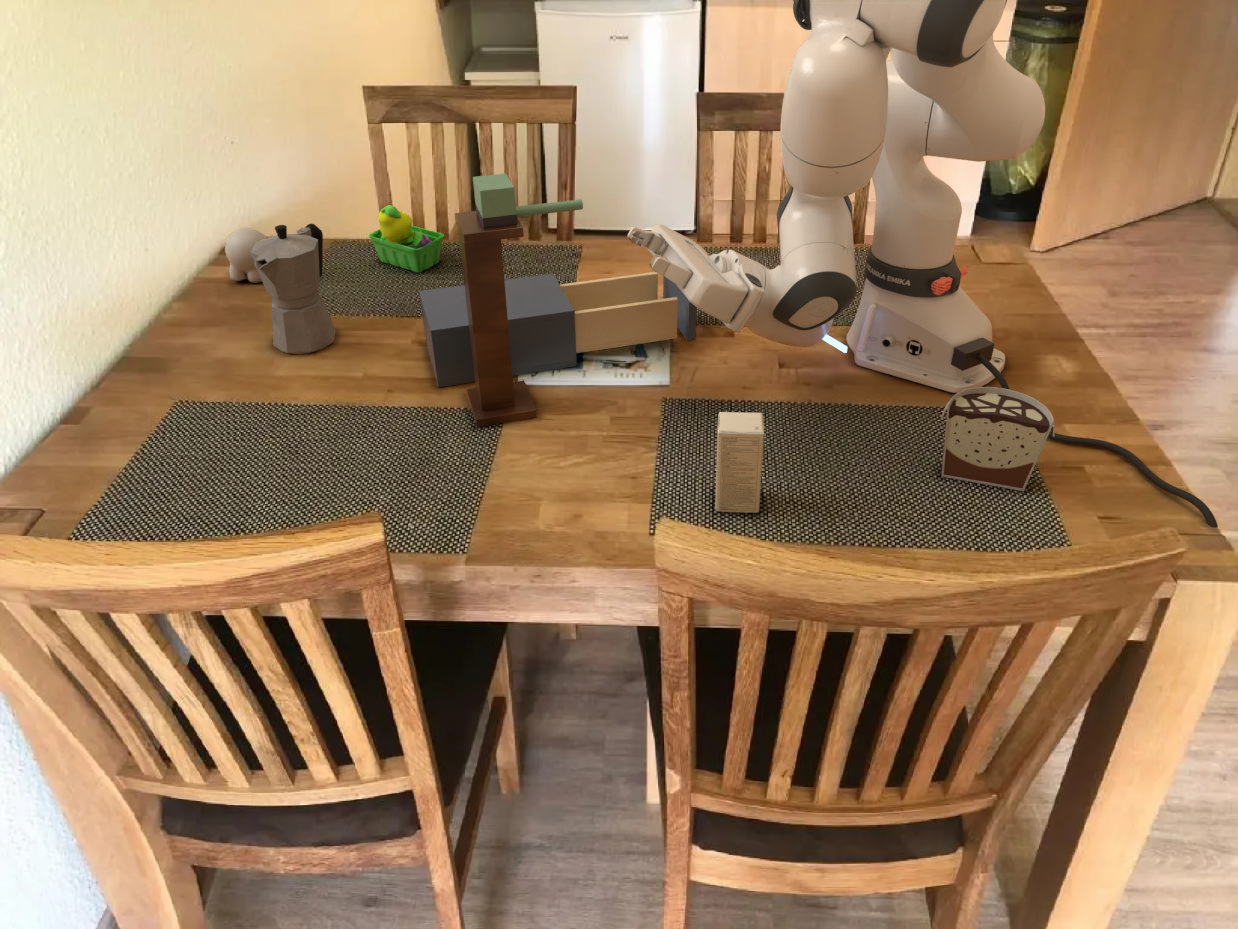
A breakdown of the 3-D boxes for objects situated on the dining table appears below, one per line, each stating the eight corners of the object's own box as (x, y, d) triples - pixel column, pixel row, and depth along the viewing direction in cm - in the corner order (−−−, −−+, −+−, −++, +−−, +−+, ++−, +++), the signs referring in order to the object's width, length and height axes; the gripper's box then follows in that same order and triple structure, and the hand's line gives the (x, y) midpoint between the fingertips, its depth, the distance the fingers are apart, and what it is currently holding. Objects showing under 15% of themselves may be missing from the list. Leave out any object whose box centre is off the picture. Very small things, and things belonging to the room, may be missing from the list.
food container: (1037, 464, 119) (1058, 394, 113) (1037, 493, 114) (1059, 421, 108) (932, 446, 122) (947, 377, 116) (928, 474, 117) (943, 403, 111)
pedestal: (524, 387, 135) (510, 204, 120) (537, 417, 128) (524, 228, 113) (466, 396, 133) (445, 212, 118) (476, 427, 127) (455, 236, 111)
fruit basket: (449, 261, 170) (442, 198, 163) (415, 280, 164) (405, 215, 157) (400, 248, 175) (391, 186, 168) (365, 265, 169) (354, 202, 162)
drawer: (695, 303, 153) (697, 262, 149) (722, 336, 144) (725, 293, 140) (554, 323, 148) (551, 281, 144) (572, 358, 139) (571, 315, 135)
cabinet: (556, 326, 149) (553, 273, 144) (576, 366, 139) (574, 310, 134) (426, 345, 145) (418, 290, 140) (438, 387, 135) (430, 330, 130)
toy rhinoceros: (293, 289, 161) (282, 240, 156) (224, 285, 163) (212, 236, 158) (310, 271, 167) (300, 223, 162) (244, 267, 168) (232, 220, 164)
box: (758, 491, 115) (765, 412, 108) (759, 514, 111) (766, 433, 105) (713, 489, 115) (718, 410, 109) (712, 512, 112) (717, 431, 105)
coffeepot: (308, 365, 140) (282, 247, 130) (252, 356, 143) (222, 239, 132) (362, 318, 152) (342, 206, 142) (310, 310, 155) (286, 200, 144)
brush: (483, 228, 113) (479, 190, 111) (476, 213, 117) (472, 176, 115) (587, 216, 116) (586, 179, 114) (576, 201, 120) (575, 165, 118)
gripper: (711, 235, 137) (629, 196, 130) (769, 296, 121) (680, 255, 114) (689, 274, 139) (607, 238, 133) (743, 339, 123) (654, 301, 117)
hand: (641, 246), depth 123 cm, fingers open, 8 cm apart
